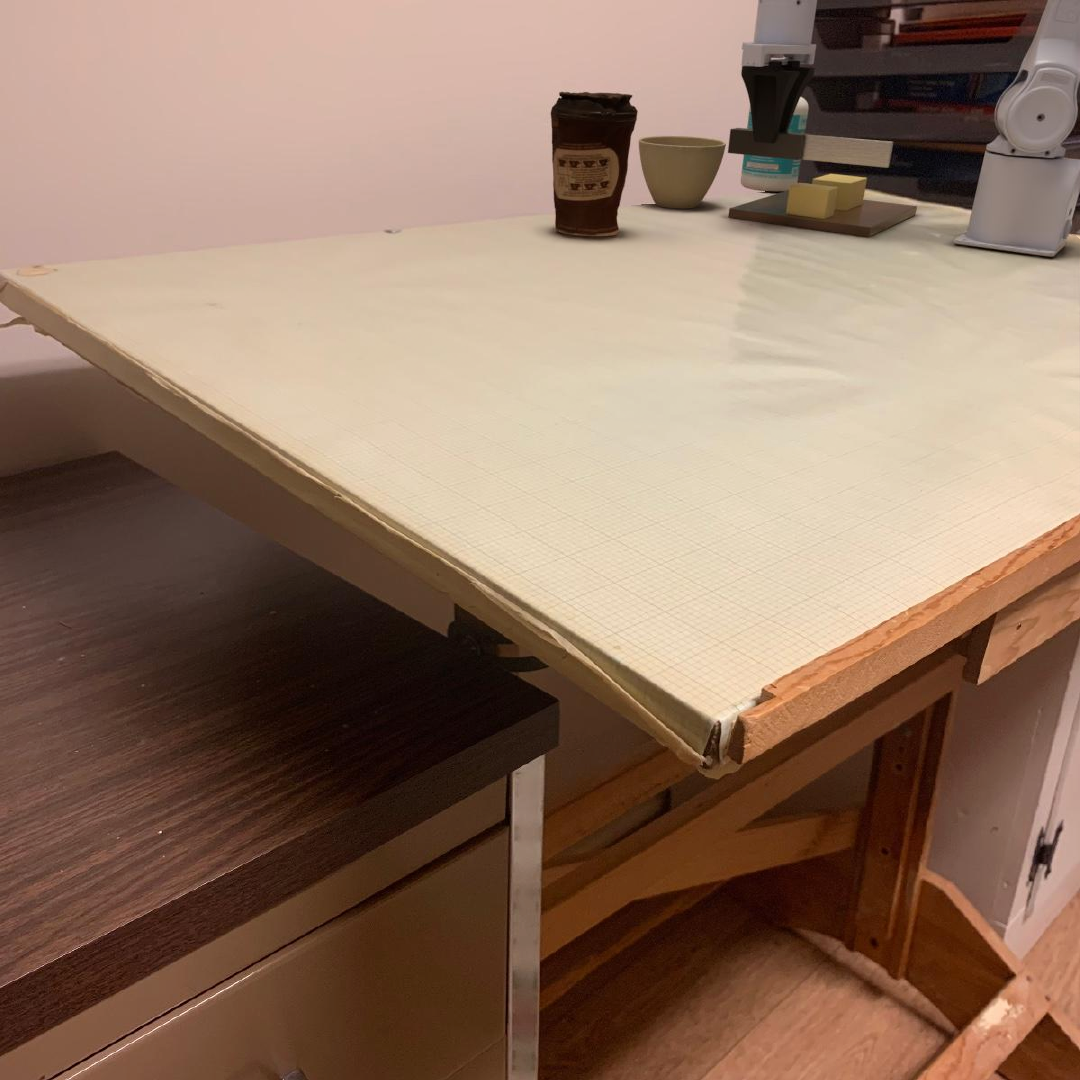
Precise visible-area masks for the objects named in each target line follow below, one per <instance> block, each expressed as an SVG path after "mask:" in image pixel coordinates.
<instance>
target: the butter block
mask: <svg viewBox="0 0 1080 1080" xmlns="http://www.w3.org/2000/svg"><path fill="white" fill-rule="evenodd" d="M867 181H868V177H865V176H857V175H848V174H847V175H845V174H838V173H828V174H824V175H822V176H818V177H815V178H812V181H811V184H816V185H824V186H833V187H838V191H837V197H836V203H835V209H834V210H841V211H847V210H849V209H852V208H855V207H857V206H860V205H862V203H863V200H864V197H865V192H866V186H867Z"/></svg>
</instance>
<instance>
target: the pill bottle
mask: <svg viewBox="0 0 1080 1080" xmlns="http://www.w3.org/2000/svg"><path fill="white" fill-rule="evenodd" d="M809 109H810V108H809V103H808V101H807V100H806V99H805V98H804V97H802V96H801V97H800V99H799V101H798V104H797V106H796V109H795V111H794V114H793V117H792V120H791V123H790V125H789V128H788V131H787V132H793V133H805V134H806V129H807V123H808V122H807V121H808V116H809ZM747 117H748V118H747V125H746V129H752V117H751V108H750V107H749V109H748V115H747ZM801 161H802V159H800V160H793V159H783V158H773V157H763V156H753V155H743V156H742V166H741V174H740V184H741V186H742V187H744V188H746V189H748V190H753V191H761V192H773V193H774V192H776V193H777V192H778V193H781V192H785V191H788V190H789V189H790V186H791V185H794V184H797V183H799V182H798V181H799V175H800V167H801Z"/></svg>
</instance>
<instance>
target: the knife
mask: <svg viewBox="0 0 1080 1080" xmlns="http://www.w3.org/2000/svg"><path fill="white" fill-rule="evenodd" d="M893 147H894V141H890V140H889V141H888V140H876V139H864V138H855V137H854V138H852V137H842V136H831V135H830V136H829V135H817V134H809V133H806V132H805V133H793V132H781V131H778V134H777V137H776V140H775V142H774V143H762V142H754V138H753V129H747V127H746V128H744V127H735V128H734V127H733V128H730V129H729V138H728V147H727V148H728V149H727V154H734V155H743V156H744V155H753V156H763V157H773V158H783V159H793V160H800V159H801V160H802V161H803V160H804V161H813V162H814V161H815V162H824V163H835V164H845V165H846V164H847V165H856V166H866V167H874V168H875V167H876V168H883V169H884V168H885V169H888V168H890V164H891V163H890V162H891V158H892V152H893Z"/></svg>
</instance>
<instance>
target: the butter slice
mask: <svg viewBox="0 0 1080 1080" xmlns="http://www.w3.org/2000/svg"><path fill="white" fill-rule="evenodd" d="M837 191H838V187H833V186H824V185H816V184H812V183H808V182H807V183H805V182H797V184H794V185H791V186H790V189H789V196H788V203H787V209H786V214H789V215H797V216H804V217H811V218H819V219H826V218H828V217H831V216H833V215H834V209H835V203H836V197H837Z"/></svg>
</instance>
